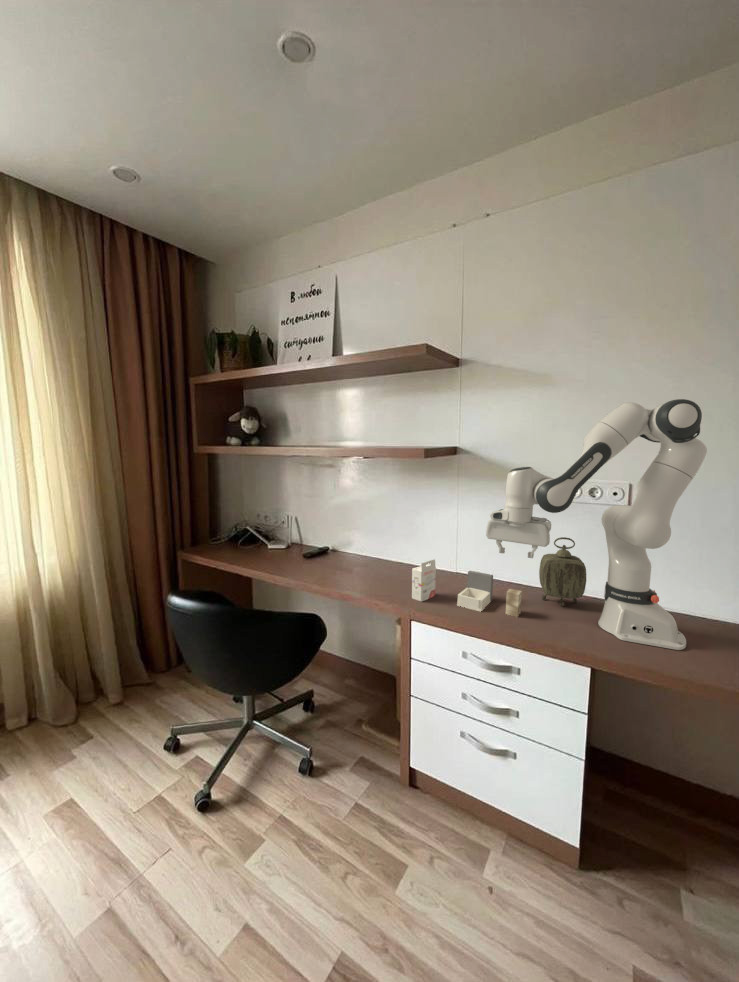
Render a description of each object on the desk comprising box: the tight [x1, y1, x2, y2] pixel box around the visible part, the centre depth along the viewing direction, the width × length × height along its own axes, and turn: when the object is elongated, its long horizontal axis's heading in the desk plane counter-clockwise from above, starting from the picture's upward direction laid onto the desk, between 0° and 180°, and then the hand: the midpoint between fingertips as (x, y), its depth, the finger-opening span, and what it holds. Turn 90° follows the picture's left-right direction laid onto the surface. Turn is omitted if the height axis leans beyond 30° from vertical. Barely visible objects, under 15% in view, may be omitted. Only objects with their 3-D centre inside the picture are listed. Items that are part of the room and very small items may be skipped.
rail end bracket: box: [505, 588, 523, 618], centre depth 135 cm, size 4×5×8 cm
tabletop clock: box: [538, 536, 587, 607], centre depth 143 cm, size 14×9×25 cm, turn 74°
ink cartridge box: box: [411, 558, 437, 603], centre depth 149 cm, size 9×5×15 cm, turn 133°
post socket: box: [456, 570, 494, 613], centre depth 144 cm, size 9×12×10 cm
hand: (515, 555), depth 133 cm, fingers open, 8 cm apart
